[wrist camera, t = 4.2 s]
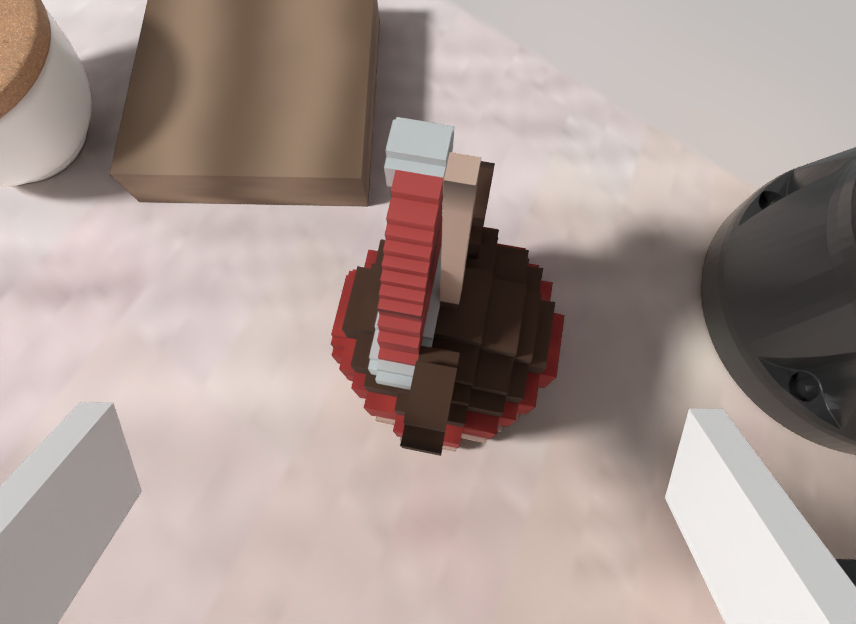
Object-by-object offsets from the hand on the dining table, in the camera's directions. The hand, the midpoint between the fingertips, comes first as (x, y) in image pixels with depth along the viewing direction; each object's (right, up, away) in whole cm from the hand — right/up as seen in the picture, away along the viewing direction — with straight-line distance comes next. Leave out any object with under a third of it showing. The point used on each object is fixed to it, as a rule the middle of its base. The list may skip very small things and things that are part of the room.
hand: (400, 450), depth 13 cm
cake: (+2, +1, +16) cm, 16 cm away
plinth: (-9, +16, +20) cm, 27 cm away
